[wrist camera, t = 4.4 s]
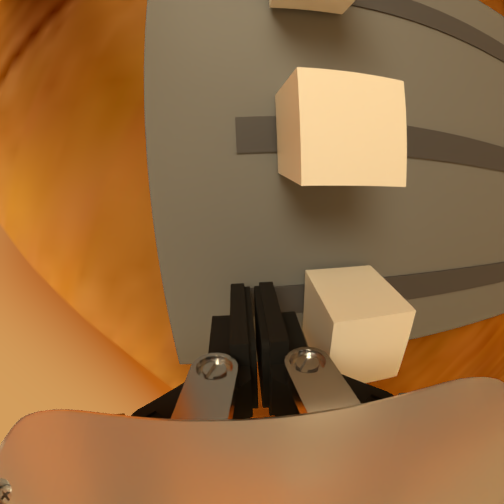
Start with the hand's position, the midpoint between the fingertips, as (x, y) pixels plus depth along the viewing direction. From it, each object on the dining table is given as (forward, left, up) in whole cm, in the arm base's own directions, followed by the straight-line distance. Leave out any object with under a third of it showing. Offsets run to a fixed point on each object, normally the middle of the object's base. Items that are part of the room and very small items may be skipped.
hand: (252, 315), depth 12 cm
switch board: (-7, +9, -4) cm, 12 cm away
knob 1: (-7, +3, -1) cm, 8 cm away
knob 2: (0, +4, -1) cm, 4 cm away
